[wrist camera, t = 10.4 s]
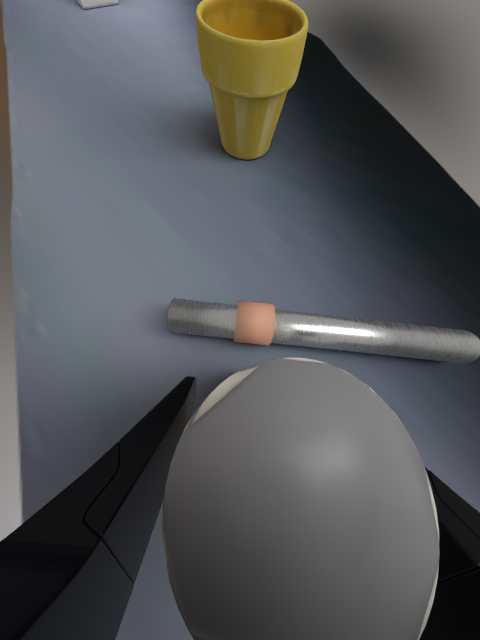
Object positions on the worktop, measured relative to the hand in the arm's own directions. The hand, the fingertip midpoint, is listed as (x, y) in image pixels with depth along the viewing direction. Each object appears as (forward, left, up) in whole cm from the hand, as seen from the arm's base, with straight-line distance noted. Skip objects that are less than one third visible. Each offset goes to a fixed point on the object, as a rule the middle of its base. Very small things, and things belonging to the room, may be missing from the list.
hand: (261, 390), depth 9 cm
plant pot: (+32, +3, -8) cm, 33 cm away
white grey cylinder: (-1, 0, -8) cm, 8 cm away
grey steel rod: (+5, -6, -8) cm, 11 cm away
